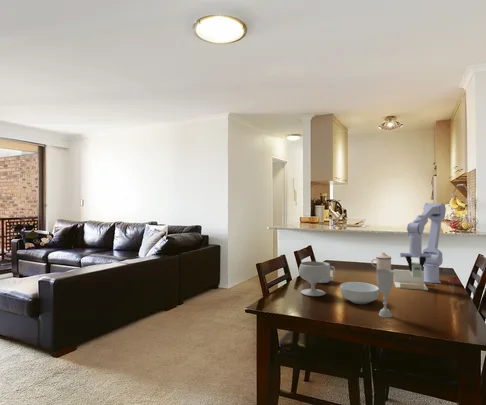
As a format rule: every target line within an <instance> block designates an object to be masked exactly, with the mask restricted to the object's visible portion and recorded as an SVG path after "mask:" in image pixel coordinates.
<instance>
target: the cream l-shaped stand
mask: <svg viewBox="0 0 486 405" xmlns="http://www.w3.org/2000/svg"><path fill="white" fill-rule="evenodd" d="M393 271H395V272H394V274H393V285H394V286H395V288H396V289H405V290H406V289H407V290H422V291H429V288H428V287H427V286H426V284H425V282H424V270H422V278H421V277H412V275H411V274H410V269H393Z"/></svg>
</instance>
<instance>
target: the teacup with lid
mask: <svg viewBox="0 0 486 405" xmlns="http://www.w3.org/2000/svg"><path fill="white" fill-rule="evenodd" d="M375 257H376V258H373V259H371V265H372V266H373V267H375V268H376V270H377V269H388V270H392V257H391V255H388V254H386V252H382V253H381V254H379V255H376V256H375ZM373 261H376V265H375V264H374V263H373Z"/></svg>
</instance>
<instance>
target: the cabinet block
mask: <svg viewBox="0 0 486 405" xmlns="http://www.w3.org/2000/svg"><path fill="white" fill-rule="evenodd" d="M411 266H412V271H410V274H411V275H412V277H421V278H422V271H423V267H421V265H420V262H418V261H415V262H413V261H412V263H411Z"/></svg>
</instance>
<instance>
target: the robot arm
mask: <svg viewBox="0 0 486 405" xmlns="http://www.w3.org/2000/svg"><path fill="white" fill-rule="evenodd" d="M446 208H447V207H446V204H444V203H443V202H442V203H439V202H438V203H435V202H434V203H429V202H426V203H425V204H424V205H423V208H422V209H423V211H422V213H421V214H418V215H417V216H416V217H415V218H414V220H413V221H411V222H410V223H408V224H407V227H406V231H407V235H408V237H409V238H408V239H409V240H408V241H409V243H408V244H409V246H408V248H409V249H408V252H400V254H399V257H400V258H405V259H406V262H407V265H408V270H410V271H412V266H411V263H412V262H413V261H412V258H418V259H419V260H418V261H419V262H418V263H419V264H420V265H421V267H422V268H423V271H424V283H432V284H433V283H434V284H441V283H442V281H440V266H441V265H443V252H442V251H441V250H440V249H438V248H439V247H438V246H439V241H440V232H441V226H442V221H443V220H445V217H446ZM429 220H430V221H431V222H430V228H429V233H428V234H429V235H428V236H429V237H428V242H427V243H428V244H427V246H426V247H425V248H424V249H422V246H423V245H422V244H423V243H422V242H423V241H422V238H423V236H422V234H424V231H425V230H424V229H425V226H426V225H427V223H428V222H429Z"/></svg>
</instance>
